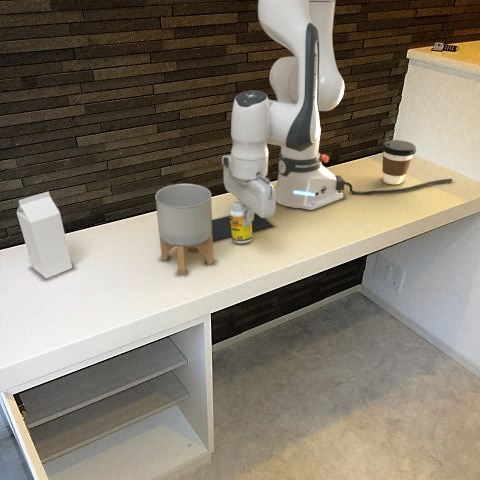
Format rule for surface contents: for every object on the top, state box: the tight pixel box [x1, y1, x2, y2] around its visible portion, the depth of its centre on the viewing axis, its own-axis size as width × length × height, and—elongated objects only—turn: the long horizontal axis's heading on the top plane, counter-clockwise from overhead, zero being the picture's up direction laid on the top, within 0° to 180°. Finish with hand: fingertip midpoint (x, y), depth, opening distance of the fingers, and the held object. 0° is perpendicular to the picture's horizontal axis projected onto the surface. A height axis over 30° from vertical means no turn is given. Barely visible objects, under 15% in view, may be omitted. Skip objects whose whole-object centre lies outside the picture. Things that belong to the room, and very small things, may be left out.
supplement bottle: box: [229, 200, 253, 244], centre depth 132 cm, size 6×6×10 cm
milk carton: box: [16, 191, 73, 280], centre depth 117 cm, size 7×7×19 cm
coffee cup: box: [381, 139, 417, 185], centre depth 165 cm, size 11×11×12 cm
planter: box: [154, 183, 214, 275], centre depth 121 cm, size 13×13×18 cm
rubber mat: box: [212, 213, 274, 242], centre depth 142 cm, size 20×11×1 cm, turn 118°
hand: (248, 219), depth 127 cm, fingers closed
